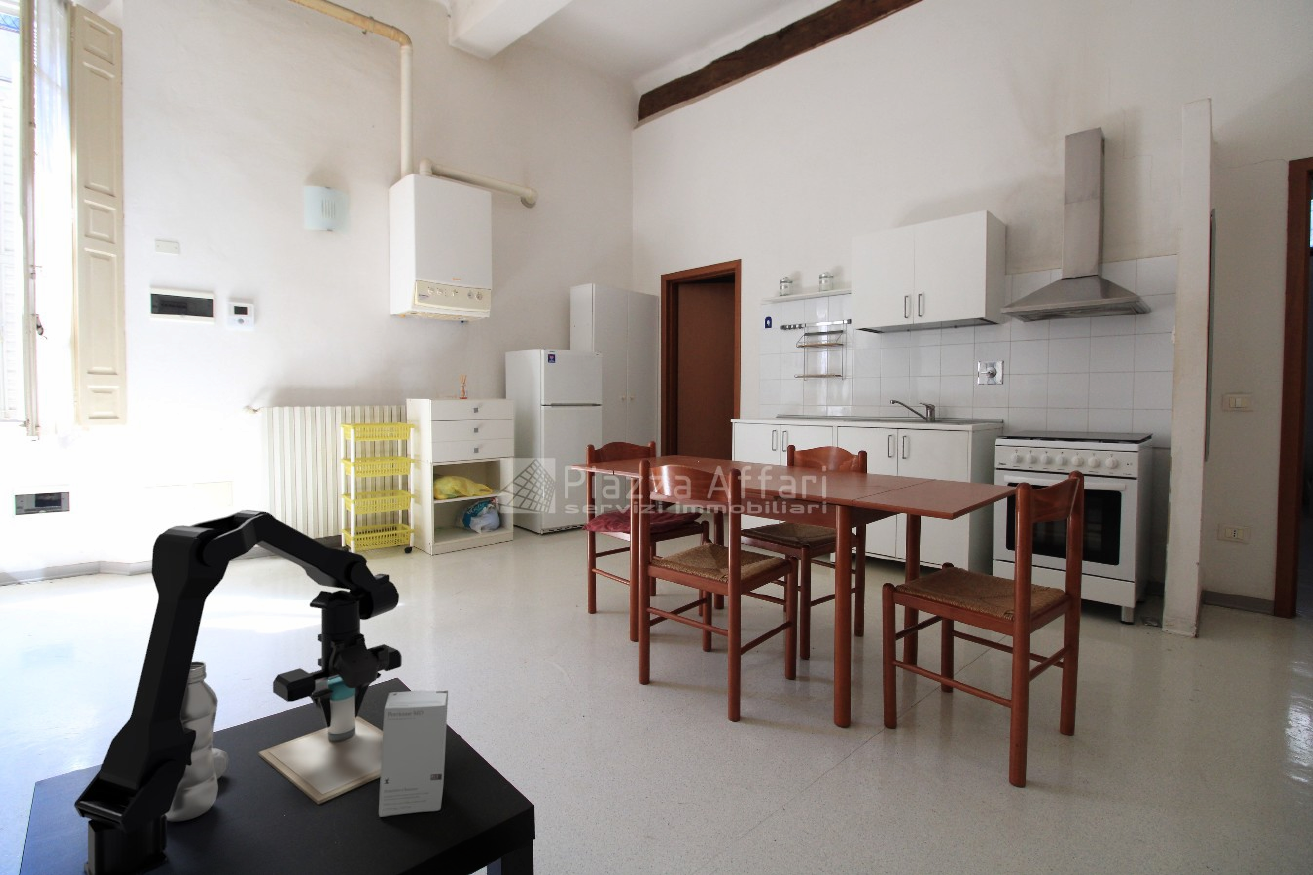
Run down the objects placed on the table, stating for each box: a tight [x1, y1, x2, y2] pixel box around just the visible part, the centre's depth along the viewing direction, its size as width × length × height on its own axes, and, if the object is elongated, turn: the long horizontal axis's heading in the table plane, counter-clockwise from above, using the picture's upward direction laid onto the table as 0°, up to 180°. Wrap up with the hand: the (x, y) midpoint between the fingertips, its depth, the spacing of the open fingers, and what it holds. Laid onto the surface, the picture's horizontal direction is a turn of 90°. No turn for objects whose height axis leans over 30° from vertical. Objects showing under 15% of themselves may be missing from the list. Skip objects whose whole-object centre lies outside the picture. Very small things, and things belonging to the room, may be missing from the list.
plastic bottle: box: [165, 660, 219, 822], centre depth 87 cm, size 6×7×20 cm
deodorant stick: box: [328, 677, 355, 742], centre depth 107 cm, size 4×4×9 cm
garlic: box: [212, 747, 229, 780], centre depth 94 cm, size 6×5×5 cm
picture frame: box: [258, 716, 383, 805], centre depth 102 cm, size 16×20×1 cm
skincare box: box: [378, 689, 449, 818], centre depth 90 cm, size 8×6×15 cm
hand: (340, 721), depth 107 cm, fingers closed on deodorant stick, 4 cm apart
